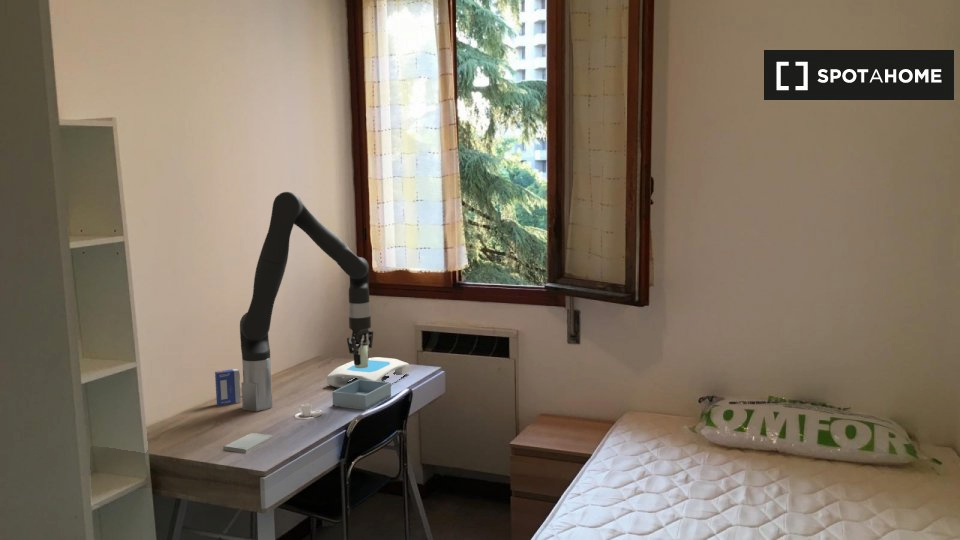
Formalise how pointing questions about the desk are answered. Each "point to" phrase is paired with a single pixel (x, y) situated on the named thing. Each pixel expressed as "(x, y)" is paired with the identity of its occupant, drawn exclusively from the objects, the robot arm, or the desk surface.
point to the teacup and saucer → (308, 411)
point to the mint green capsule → (363, 357)
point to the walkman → (227, 387)
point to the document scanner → (366, 371)
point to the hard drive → (248, 442)
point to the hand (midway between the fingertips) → (361, 362)
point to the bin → (361, 394)
